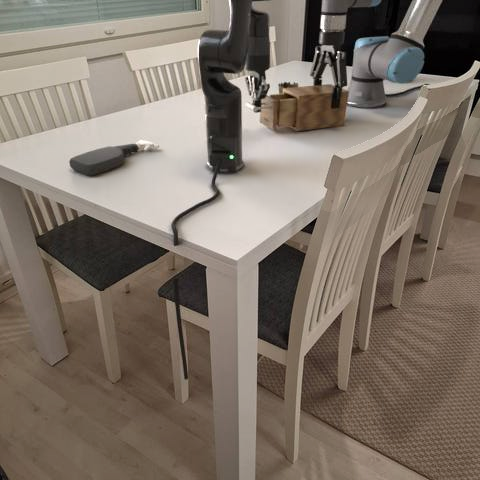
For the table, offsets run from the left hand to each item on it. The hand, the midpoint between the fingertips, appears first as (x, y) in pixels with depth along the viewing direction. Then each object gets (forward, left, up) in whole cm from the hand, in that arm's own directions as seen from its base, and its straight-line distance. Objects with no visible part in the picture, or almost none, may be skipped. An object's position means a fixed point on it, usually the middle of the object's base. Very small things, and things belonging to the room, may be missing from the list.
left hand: (257, 111), depth 138 cm
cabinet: (+9, -18, -7) cm, 21 cm away
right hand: (+11, -22, -1) cm, 25 cm away
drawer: (+4, -8, -5) cm, 10 cm away
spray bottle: (-23, +39, -7) cm, 45 cm away
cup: (+31, -11, -7) cm, 34 cm away
